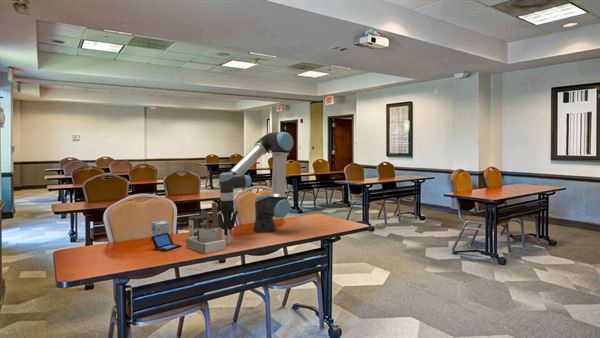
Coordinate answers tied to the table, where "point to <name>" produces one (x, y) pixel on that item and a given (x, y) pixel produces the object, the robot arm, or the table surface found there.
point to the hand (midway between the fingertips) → (227, 240)
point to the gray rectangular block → (209, 235)
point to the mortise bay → (205, 245)
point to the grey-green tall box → (196, 224)
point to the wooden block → (208, 217)
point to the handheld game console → (163, 242)
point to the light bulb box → (160, 227)
